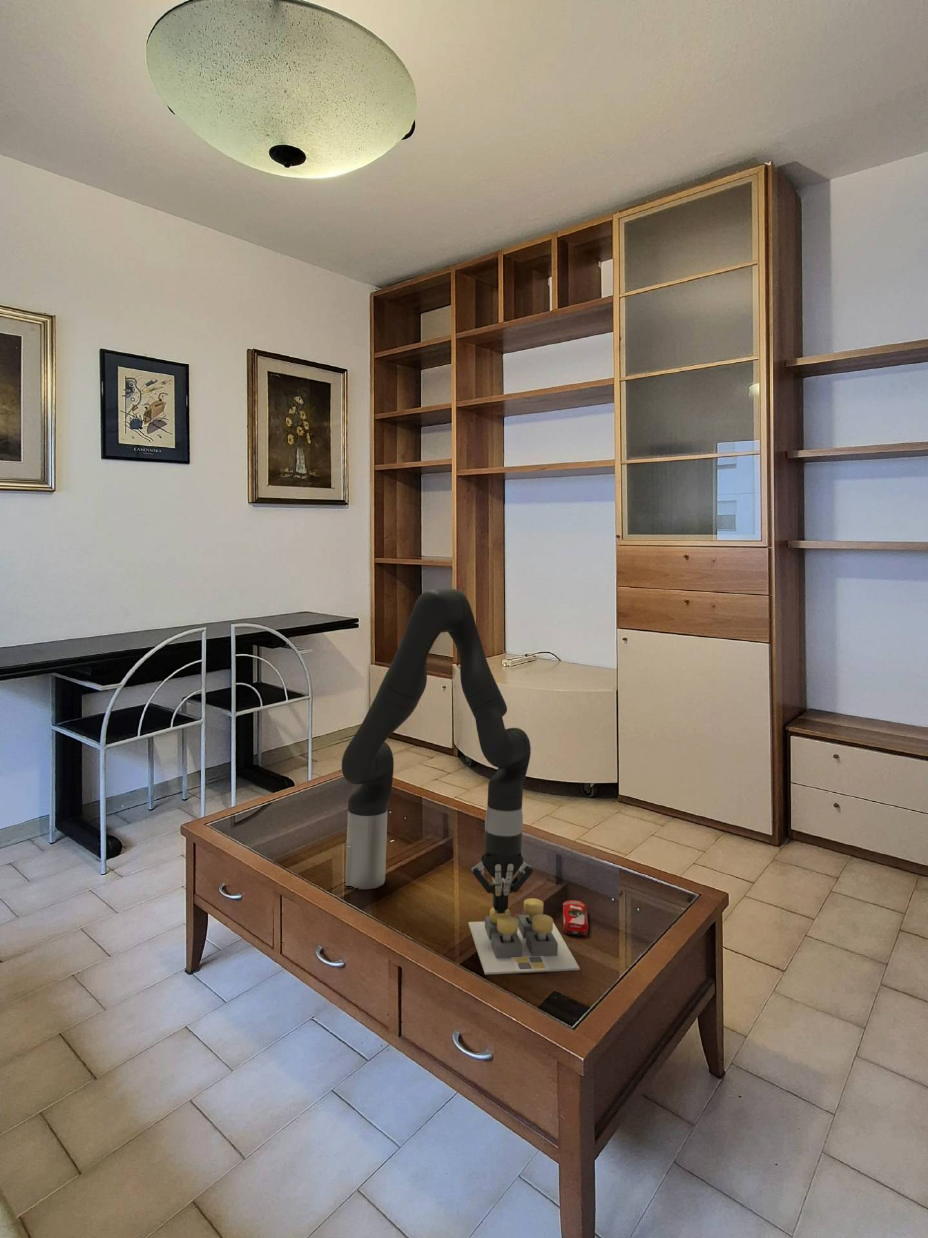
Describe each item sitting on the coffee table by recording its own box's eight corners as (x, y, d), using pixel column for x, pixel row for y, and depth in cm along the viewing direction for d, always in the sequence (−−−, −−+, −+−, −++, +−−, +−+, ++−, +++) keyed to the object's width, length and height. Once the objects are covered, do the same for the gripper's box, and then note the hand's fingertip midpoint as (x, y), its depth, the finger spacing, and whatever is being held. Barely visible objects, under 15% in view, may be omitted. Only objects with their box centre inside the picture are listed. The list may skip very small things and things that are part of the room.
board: (485, 976, 129) (485, 961, 128) (468, 924, 148) (468, 911, 148) (580, 971, 131) (581, 956, 131) (551, 921, 151) (552, 908, 150)
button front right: (534, 946, 135) (535, 924, 135) (529, 936, 139) (530, 914, 139) (554, 945, 136) (555, 924, 136) (548, 935, 140) (549, 914, 140)
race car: (562, 908, 157) (562, 890, 157) (586, 911, 157) (587, 893, 156) (560, 937, 144) (561, 918, 144) (587, 940, 144) (588, 921, 143)
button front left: (498, 948, 134) (499, 926, 134) (494, 937, 138) (495, 916, 138) (519, 947, 135) (520, 925, 135) (514, 936, 139) (515, 915, 139)
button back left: (491, 937, 141) (492, 916, 141) (487, 927, 145) (488, 907, 145) (510, 936, 142) (511, 915, 142) (506, 926, 146) (507, 906, 146)
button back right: (525, 928, 142) (526, 907, 142) (520, 919, 146) (521, 898, 146) (544, 927, 143) (545, 907, 143) (539, 918, 147) (540, 898, 147)
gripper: (474, 835, 138) (471, 922, 139) (540, 834, 140) (536, 919, 141) (468, 822, 145) (465, 904, 146) (530, 821, 147) (527, 902, 148)
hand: (500, 911), depth 143 cm, fingers closed
